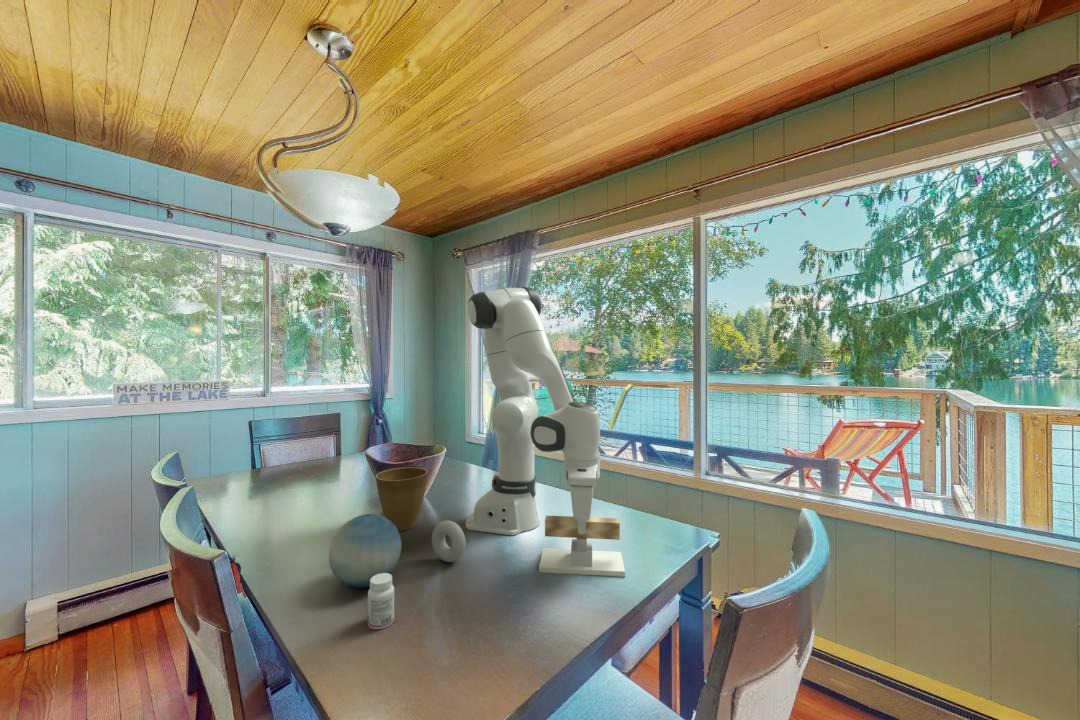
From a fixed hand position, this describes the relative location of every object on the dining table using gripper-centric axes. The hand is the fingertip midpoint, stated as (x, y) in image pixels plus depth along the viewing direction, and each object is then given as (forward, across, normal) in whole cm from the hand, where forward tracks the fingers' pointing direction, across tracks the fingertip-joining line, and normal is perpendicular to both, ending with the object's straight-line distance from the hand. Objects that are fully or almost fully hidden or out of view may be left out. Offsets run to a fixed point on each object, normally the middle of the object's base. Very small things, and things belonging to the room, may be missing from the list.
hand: (581, 525), depth 103 cm
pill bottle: (+10, +27, -38) cm, 48 cm away
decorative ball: (+10, +14, -48) cm, 51 cm away
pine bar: (+3, 0, 0) cm, 3 cm away
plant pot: (+10, -18, -54) cm, 58 cm away
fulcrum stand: (+10, 0, 0) cm, 10 cm away
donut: (+10, +2, -33) cm, 35 cm away
